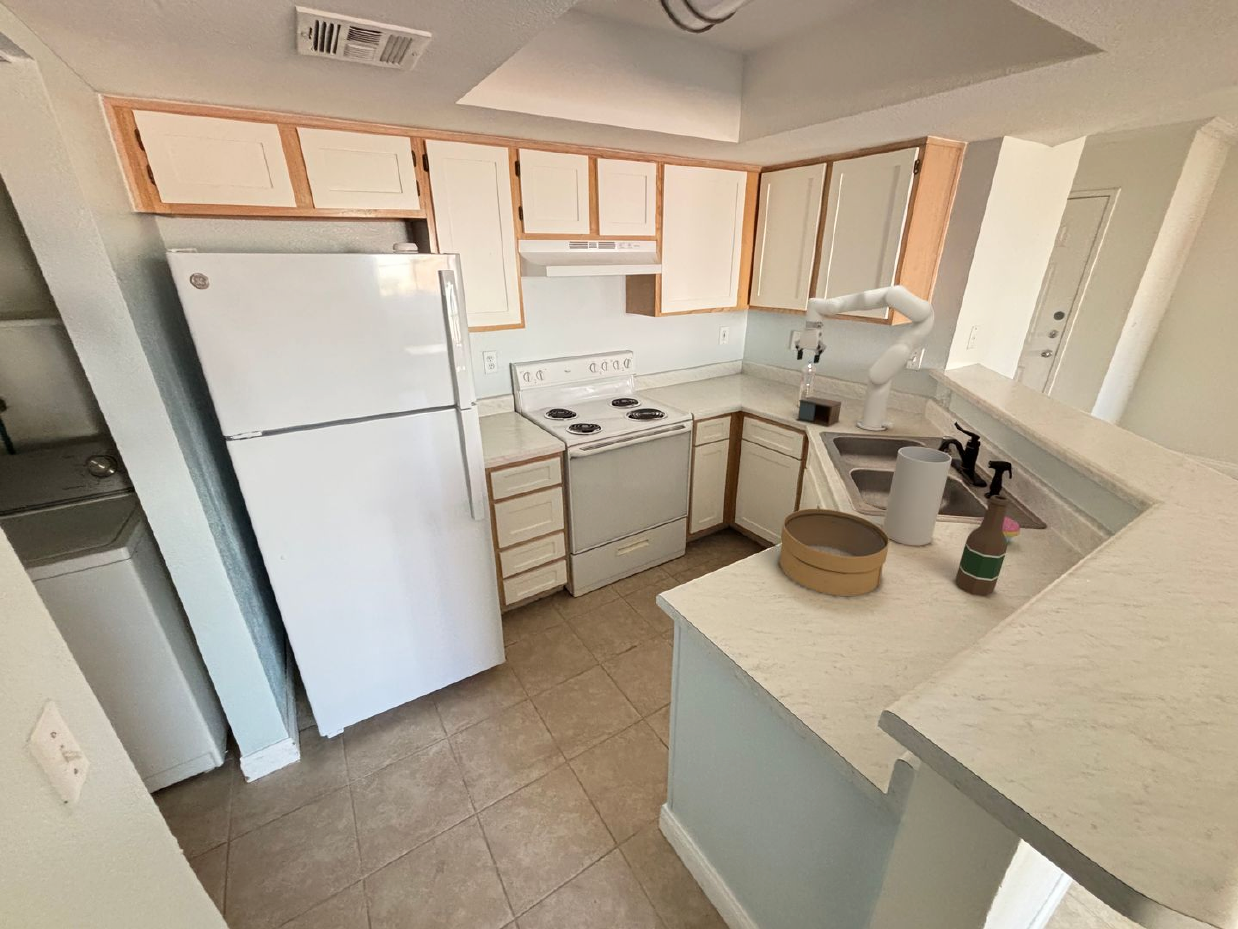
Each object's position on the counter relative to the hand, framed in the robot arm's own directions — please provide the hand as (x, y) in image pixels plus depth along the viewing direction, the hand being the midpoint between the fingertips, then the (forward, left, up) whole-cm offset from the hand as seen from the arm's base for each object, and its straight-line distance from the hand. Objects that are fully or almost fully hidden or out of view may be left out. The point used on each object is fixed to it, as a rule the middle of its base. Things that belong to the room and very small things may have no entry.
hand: (807, 361), depth 245 cm
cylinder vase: (-79, +90, -29) cm, 123 cm away
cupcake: (-98, +75, -29) cm, 127 cm away
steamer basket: (-70, +122, -29) cm, 144 cm away
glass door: (-5, +4, -28) cm, 28 cm away
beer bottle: (-99, +105, -29) cm, 147 cm away
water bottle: (+8, -21, -29) cm, 36 cm away
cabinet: (-9, -2, -29) cm, 30 cm away
